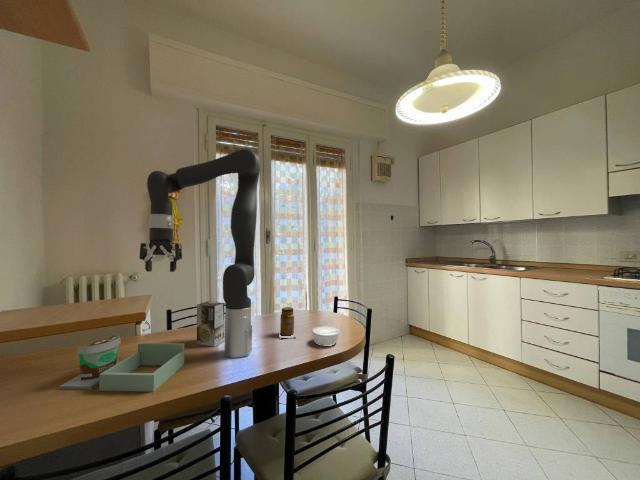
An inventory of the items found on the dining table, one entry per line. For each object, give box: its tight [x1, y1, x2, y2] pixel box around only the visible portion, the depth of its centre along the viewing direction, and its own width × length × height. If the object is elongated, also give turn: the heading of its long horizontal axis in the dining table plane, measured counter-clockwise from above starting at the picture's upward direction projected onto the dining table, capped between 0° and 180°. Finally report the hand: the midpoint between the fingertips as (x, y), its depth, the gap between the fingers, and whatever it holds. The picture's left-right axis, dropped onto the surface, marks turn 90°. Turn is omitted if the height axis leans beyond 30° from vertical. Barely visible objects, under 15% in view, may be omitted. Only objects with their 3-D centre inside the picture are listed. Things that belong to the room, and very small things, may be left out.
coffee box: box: [196, 301, 225, 348], centre depth 114 cm, size 9×6×16 cm
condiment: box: [278, 306, 295, 340], centre depth 123 cm, size 7×8×12 cm
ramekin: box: [312, 325, 340, 345], centre depth 115 cm, size 11×11×5 cm
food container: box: [76, 333, 122, 380], centre depth 85 cm, size 12×6×10 cm, turn 171°
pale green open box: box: [98, 342, 185, 392], centre depth 85 cm, size 15×17×7 cm
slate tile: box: [58, 361, 120, 391], centre depth 85 cm, size 9×16×1 cm, turn 0°
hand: (160, 271), depth 102 cm, fingers open, 8 cm apart
